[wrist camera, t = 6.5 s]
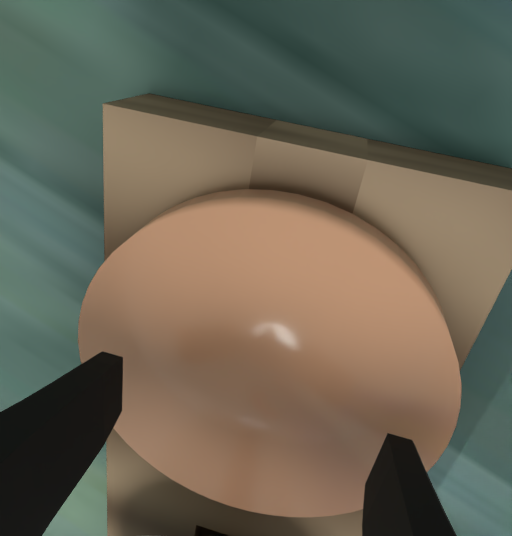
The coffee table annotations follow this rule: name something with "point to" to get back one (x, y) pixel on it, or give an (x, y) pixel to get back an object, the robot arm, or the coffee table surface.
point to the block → (314, 186)
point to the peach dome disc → (272, 350)
